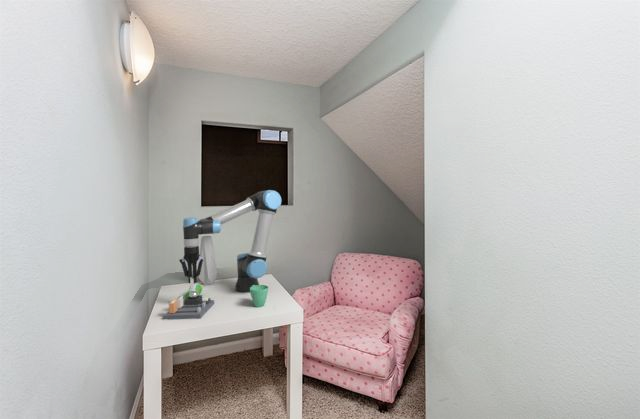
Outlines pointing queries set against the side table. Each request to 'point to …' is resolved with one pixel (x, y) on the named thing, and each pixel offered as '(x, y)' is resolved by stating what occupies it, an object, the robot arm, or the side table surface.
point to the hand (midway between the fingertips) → (192, 288)
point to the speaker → (197, 288)
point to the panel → (191, 309)
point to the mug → (259, 294)
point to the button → (193, 295)
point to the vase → (207, 261)
